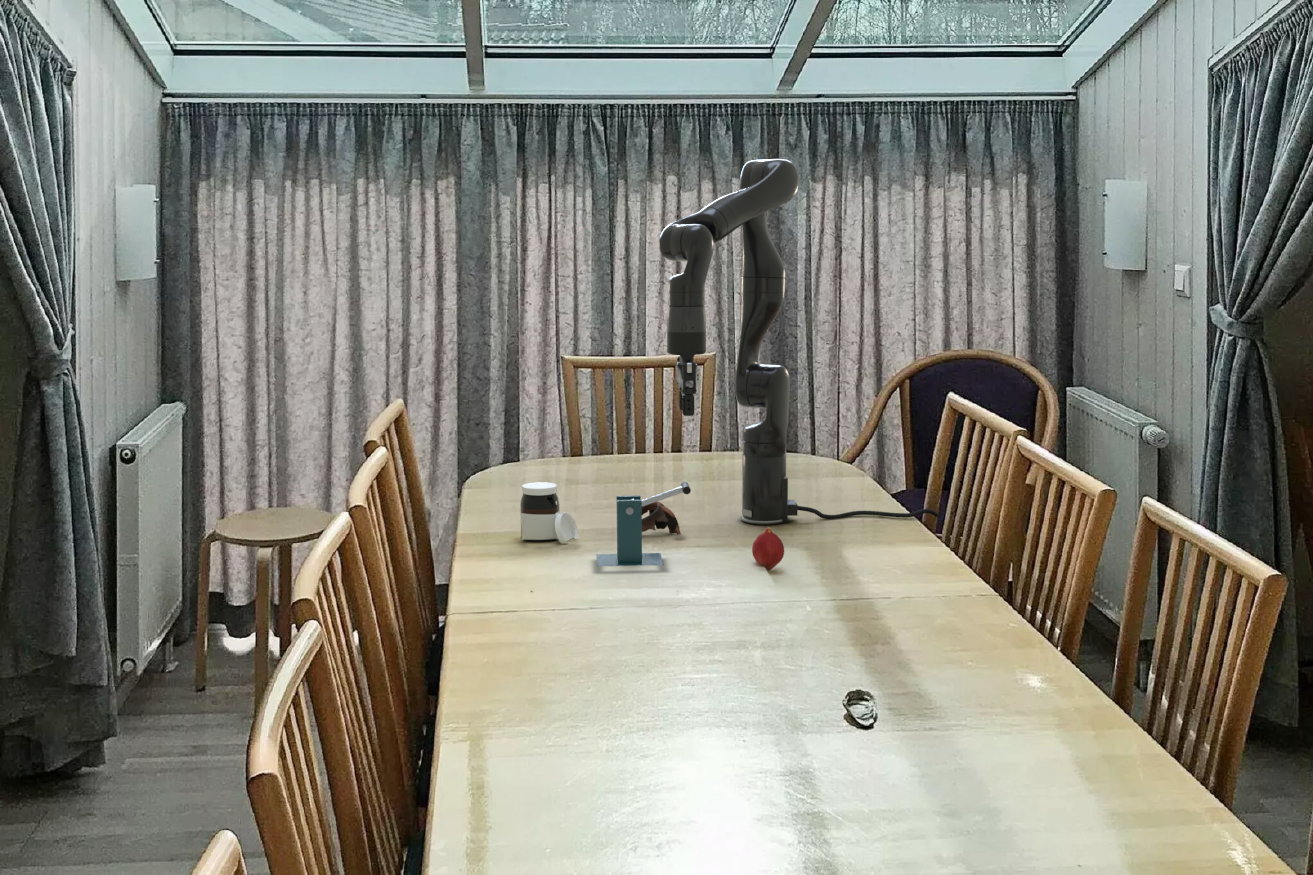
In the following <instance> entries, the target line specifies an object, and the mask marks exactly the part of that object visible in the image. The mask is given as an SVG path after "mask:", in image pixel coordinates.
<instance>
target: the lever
mask: <svg viewBox="0 0 1313 875" xmlns="http://www.w3.org/2000/svg"><path fill="white" fill-rule="evenodd" d="M691 491H692V489H691V487H690V485H689V483H688V482H687V481H682V482H681V483H680V486H678V487H675V488H672V489H669V490H666V491H664V492H661V493H657V494H655V495H651V496H649V497H646V498H644V499H641V500H642V506H645V505H648V504H651V503H654V502H657V501H658V502H660V501H663V500H665V499H668V498H672V497H675V496H677V495H679V494H682V493H683V494H684V495H689V494H690V493H691ZM630 500H634V498H633V499H630Z"/></svg>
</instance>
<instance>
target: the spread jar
mask: <svg viewBox="0 0 1313 875" xmlns="http://www.w3.org/2000/svg"><path fill="white" fill-rule="evenodd" d="M521 492H522V493H521V494H522V496H521V499H520V510H519V511H520V539H521V540H522V541H523V542H524V543H525V542H526V543H552V542H557V541H559V543H560V544H561V545H569V544H570V543H569V542H568V541H570V540H571V539H575V540H576V539H577V540H579V528H578V525H577V523H576V520H575V518H574V517H573V516H572V515H571V513H569V512H567V511H564V512H561V513H560V499H559V496H558V494H557V493H558V484H556V483H554V482H545V481H544V482H543V481H538V482H528V483H524V484H522V485H521Z"/></svg>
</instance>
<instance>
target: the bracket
mask: <svg viewBox="0 0 1313 875" xmlns="http://www.w3.org/2000/svg"><path fill="white" fill-rule="evenodd" d="M633 498H634V500H630V499H633ZM642 500H643V499H641V495H640V494H639V495H638V494H636V495H616V553H601V554H600V553H597V554H596V566H597V567H628V566H629V567H630V566H631V567H633V566H634V567H637V566H664V560H663V558H662V557H663V556H662V553H661V552H648V553H647V552H646V553H645V552H643V532H642V519H643V515H642Z"/></svg>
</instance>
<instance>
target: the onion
mask: <svg viewBox="0 0 1313 875" xmlns="http://www.w3.org/2000/svg"><path fill="white" fill-rule="evenodd" d="M751 546H752V547H751V554H752V557H753V559H754V560H755V562H756V563H757V564H758V565H761V566H764V568H765V570H766V571H771V570H773V569H774V568H775V567H776V566H778V565H779V564H780V563H781V561H782V560H783V558H784V555H785V545H784V543H783V541H782V539H781V538H780V537H779V536H778V535H777V534H776V533H775V532H773V530H772V528H771V527H766V528H765V530H764V531H763V532H762V533H761V534H759V535H758V536H757V537H756V538H755V540H754V541H753V543H752V545H751Z"/></svg>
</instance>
